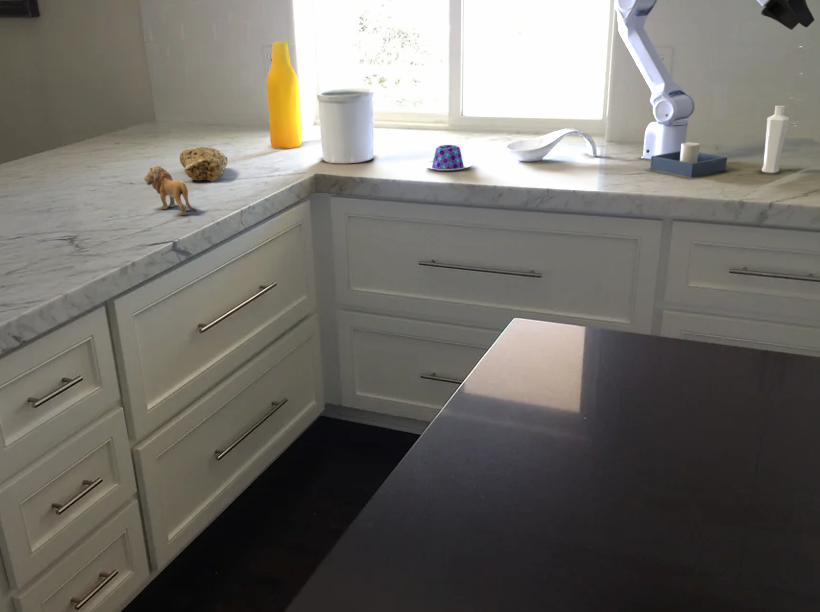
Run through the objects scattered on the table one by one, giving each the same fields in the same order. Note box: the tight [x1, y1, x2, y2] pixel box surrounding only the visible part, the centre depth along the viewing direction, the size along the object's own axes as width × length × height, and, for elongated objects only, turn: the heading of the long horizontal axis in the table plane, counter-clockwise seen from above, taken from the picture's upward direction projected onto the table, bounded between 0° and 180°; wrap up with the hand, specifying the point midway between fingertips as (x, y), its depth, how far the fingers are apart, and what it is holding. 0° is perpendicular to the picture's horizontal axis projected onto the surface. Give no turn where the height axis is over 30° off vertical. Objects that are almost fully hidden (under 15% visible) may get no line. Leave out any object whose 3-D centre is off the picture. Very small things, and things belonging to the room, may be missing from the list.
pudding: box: [423, 144, 473, 172], centre depth 218 cm, size 12×12×5 cm
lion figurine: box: [143, 165, 198, 216], centre depth 186 cm, size 15×5×9 cm, turn 50°
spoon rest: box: [504, 127, 598, 163], centre depth 224 cm, size 24×12×7 cm, turn 98°
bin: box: [649, 151, 728, 178], centre depth 205 cm, size 12×12×3 cm
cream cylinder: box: [680, 141, 700, 163], centre depth 205 cm, size 4×4×6 cm
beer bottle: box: [266, 40, 303, 150], centre depth 249 cm, size 9×9×29 cm
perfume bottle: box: [761, 105, 790, 174], centre depth 199 cm, size 5×4×15 cm
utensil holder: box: [316, 88, 375, 164], centre depth 230 cm, size 15×15×18 cm
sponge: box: [179, 146, 228, 182], centre depth 220 cm, size 13×8×20 cm
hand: (803, 24), depth 187 cm, fingers open, 7 cm apart
